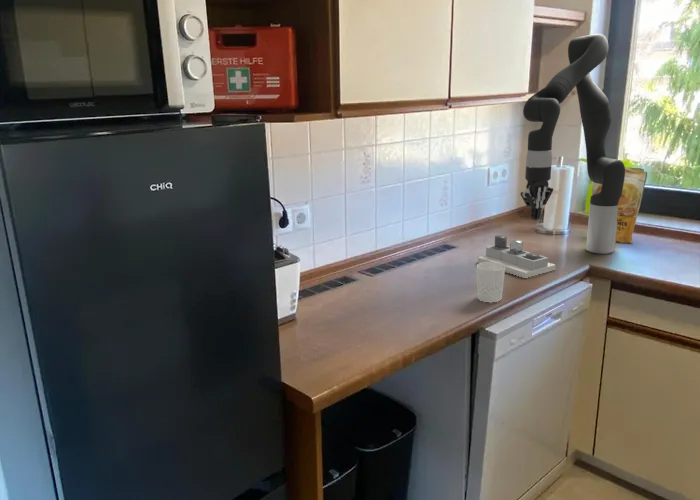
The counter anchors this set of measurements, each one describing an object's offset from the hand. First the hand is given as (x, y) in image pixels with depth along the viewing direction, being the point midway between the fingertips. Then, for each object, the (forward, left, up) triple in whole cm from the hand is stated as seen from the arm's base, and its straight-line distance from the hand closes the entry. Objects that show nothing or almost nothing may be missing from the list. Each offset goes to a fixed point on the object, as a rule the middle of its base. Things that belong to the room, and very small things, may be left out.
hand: (535, 219), depth 182 cm
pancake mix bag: (-55, -9, -18) cm, 59 cm away
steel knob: (0, -7, -12) cm, 14 cm away
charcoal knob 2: (0, 0, -15) cm, 15 cm away
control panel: (0, -7, -18) cm, 19 cm away
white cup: (+29, +9, -18) cm, 35 cm away
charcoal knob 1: (0, -14, -12) cm, 19 cm away
